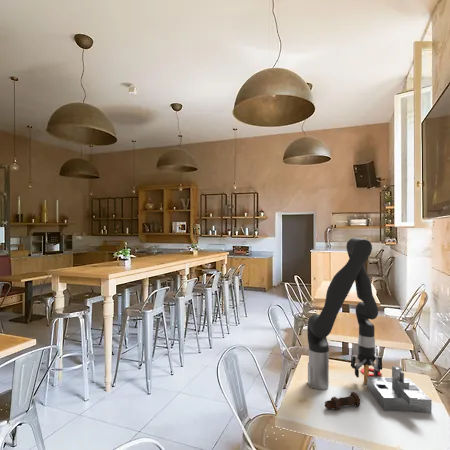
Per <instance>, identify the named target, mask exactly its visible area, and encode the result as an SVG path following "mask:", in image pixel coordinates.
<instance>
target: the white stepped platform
mask: <svg viewBox="0 0 450 450" xmlns="http://www.w3.org/2000/svg"><path fill="white" fill-rule="evenodd" d="M404 376H405V372H403V367H401V366H398V365H393V366H392V367H391V376H387V377H385V376H378V377H374V376H367V384H366V388H367V390H368V391H369V392H370V395H372V397H373V398H374V400H376V402H377V404H378V405H379V406H380V408H381V409H382V411H384V412H401V413H403V412H404V413H418V414H419V413H421V414H423V413H424V414H432V405H433V404H432V403H433V402H432V398H430V397H429V396H428V395H427V394H426V393H425V392H424V391H423V390H422V389H421V388H420V387H419V386H418V385H417V384H416V383H414V381H412V379H410V378H409V377H404Z"/></svg>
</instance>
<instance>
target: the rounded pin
mask: <svg viewBox="0 0 450 450" xmlns="http://www.w3.org/2000/svg"><path fill="white" fill-rule="evenodd" d="M363 368H364V374H363V383H364V384H366V385H367V376H369V374H370V372H369V371H370V370H369V368H370V366H368V365H366V366H365V365H363Z"/></svg>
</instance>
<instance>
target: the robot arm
mask: <svg viewBox="0 0 450 450" xmlns="http://www.w3.org/2000/svg"><path fill="white" fill-rule="evenodd" d="M372 251H373V245H372V242H371V241H370V240H368V239H365V238H360V237H351V238H350V239H348V240H347V242H346V252H347V255H348V261H347V262H346V263H345V265H344V266H343V267H342V268H340V270H338V272H336V274H334V275H333V277H332V278H331V281H330V283H329V286H328V287H327V290H326V296H325V299H324V301H325V302H324V305H323V308H322V309H321V311H320V313H319V314H318V313H316V314H313V315H310V316H309V318H308V320H307V327H306V328H307V343H308V362H307V383H308V386H309V388H310V389H311V388H312V389H316V390H318V391H320V390H328V388H329V383H330V381H329V379H330V378H329V377H330V376H329V369H330V368H329V367H330V365H329V362H330V345H329V342H328V338H327V337H328V336H329V335H330V334H331V332H332V329H333V327H334V324H335V322H336V319H337V316H338V314H339V312H340V310H341V308H342V306H343V304H344V302H345V300H346V298H347V297H348V295H349V293H350V291H351V289H352V286H353V285H354V283H355V291H356V296H357V298H358V299H359V300H360V302H358V303H357V305H356V306H355V315H356V319H357V323H358V338H357V339H358V341H357V348H358V349H357V355H355V354H351V355H350V367H351V368H352V369H353V370H354V376H356V378H360V377H359V376H360V375H359V374H360V373H359V372H360V370H359V369H360V368H361V367H362V366H364V365H365V366H366V365H368V366H369V367H370V366H372V368H373V369H374V372H373V374H374V376H373V377H379V375H378V370H380V371H381V370H383V359H382V357H381V356H380V355H378V356H376V338H375V325H374V323H372V322H371V321H370V320H375V319H377V317H378V316H379V308H378V305H377V301H376V299H375V297H374V295H373V289H372V283H371V279H370V276H369V273H368V271H367V269H366V266H365V263H366V262H367V260H368V259H369V257H370V255H371V254H372ZM376 360H377V361H378V366H376V363H374V362H376ZM356 361H357V362H356Z"/></svg>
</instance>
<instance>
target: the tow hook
mask: <svg viewBox="0 0 450 450" xmlns="http://www.w3.org/2000/svg"><path fill="white" fill-rule="evenodd" d="M375 356H379V349H378V348H376V347H375ZM375 365H376V366H378V361H377V360H375ZM369 371H370V372H373V373H369V376H371V377H374V368H373V367H372V368H370V367H369ZM360 373H361V374H362V375H364V367H363V368H361V369H360ZM378 376H379V377H383V374H382V372H381V370H378Z"/></svg>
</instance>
